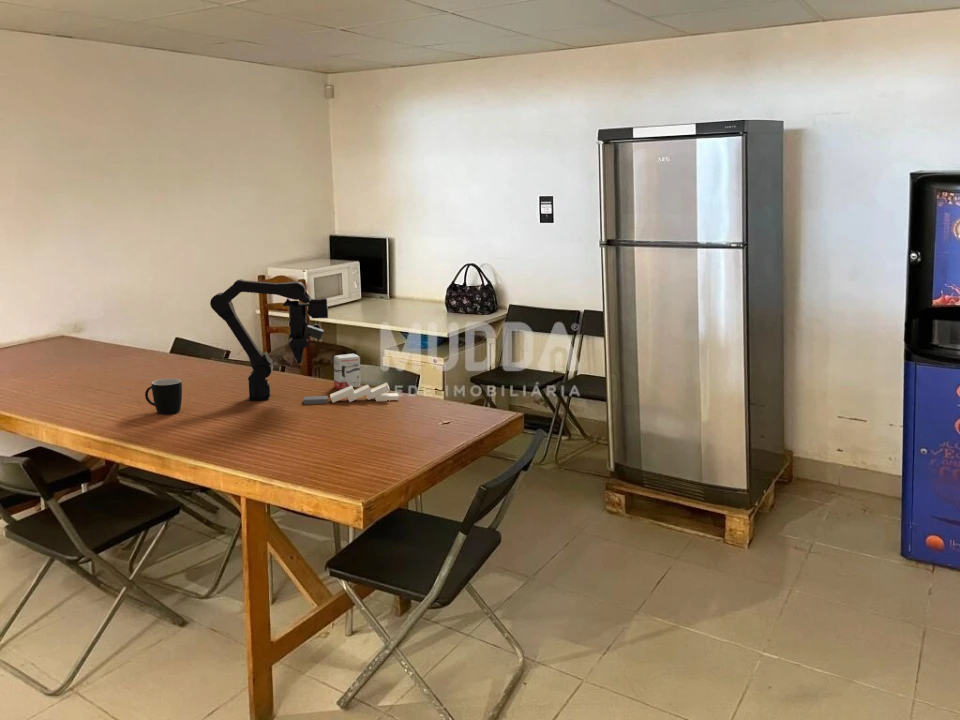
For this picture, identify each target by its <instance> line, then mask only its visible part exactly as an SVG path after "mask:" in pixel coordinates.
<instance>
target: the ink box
mask: <svg viewBox="0 0 960 720" xmlns="http://www.w3.org/2000/svg"><path fill="white" fill-rule="evenodd" d="M333 383H334V388H336V389H337V390H342V389H344V388H347V387H349V386H352V387H355V388H361V356H360V355H357V354H355V353H347V354H338V355H334V356H333ZM357 386H358V387H357Z"/></svg>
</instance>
